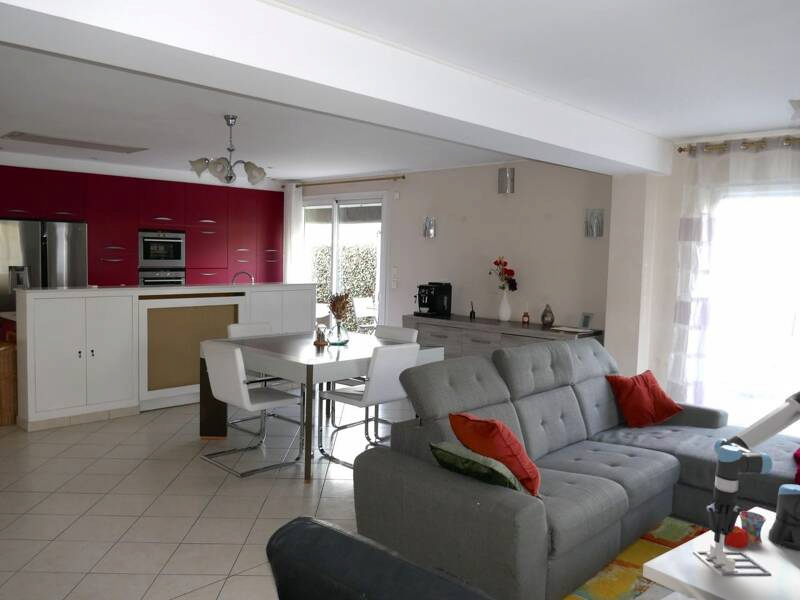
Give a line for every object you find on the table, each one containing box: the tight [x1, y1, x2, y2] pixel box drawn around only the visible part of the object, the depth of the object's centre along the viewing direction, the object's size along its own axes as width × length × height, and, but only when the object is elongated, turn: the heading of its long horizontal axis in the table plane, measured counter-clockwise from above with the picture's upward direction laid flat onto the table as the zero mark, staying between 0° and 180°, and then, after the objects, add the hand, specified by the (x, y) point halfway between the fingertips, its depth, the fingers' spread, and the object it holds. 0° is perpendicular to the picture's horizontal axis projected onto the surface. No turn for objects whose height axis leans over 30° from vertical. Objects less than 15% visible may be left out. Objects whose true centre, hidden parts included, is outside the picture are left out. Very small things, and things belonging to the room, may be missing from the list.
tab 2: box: [712, 550, 728, 565], centre depth 230 cm, size 4×3×4 cm
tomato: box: [724, 525, 750, 549], centre depth 247 cm, size 9×9×8 cm
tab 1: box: [705, 543, 719, 558], centre depth 235 cm, size 4×3×4 cm
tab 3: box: [720, 557, 739, 573], centre depth 225 cm, size 4×3×4 cm
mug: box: [738, 510, 767, 544], centre depth 254 cm, size 12×9×11 cm
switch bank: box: [692, 550, 772, 577], centre depth 230 cm, size 20×16×2 cm
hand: (718, 550), depth 235 cm, fingers closed
